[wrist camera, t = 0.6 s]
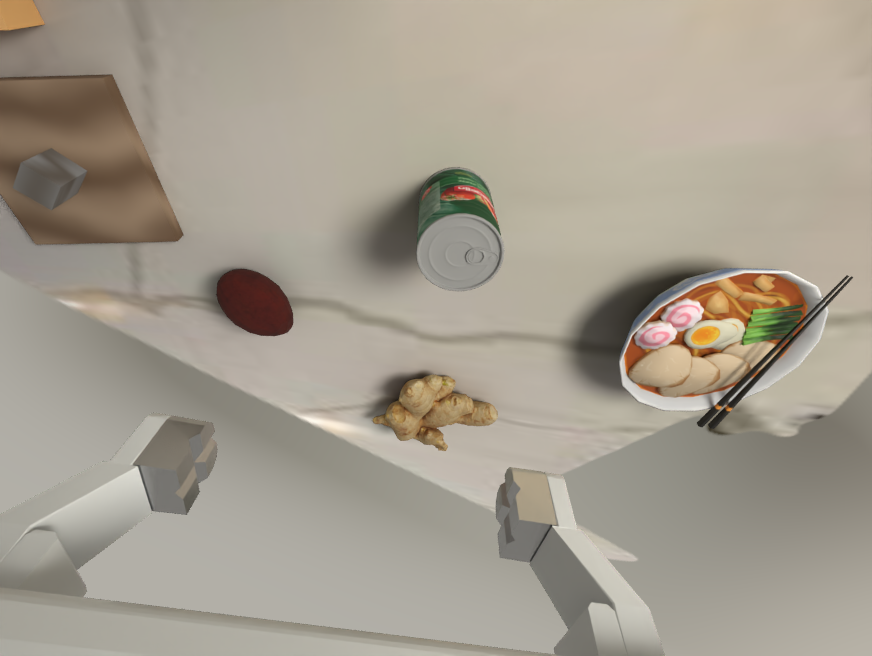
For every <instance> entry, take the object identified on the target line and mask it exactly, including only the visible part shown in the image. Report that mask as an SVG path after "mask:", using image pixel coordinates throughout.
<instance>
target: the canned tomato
mask: <svg viewBox="0 0 872 656" xmlns="http://www.w3.org/2000/svg"><path fill="white" fill-rule="evenodd" d="M416 259H417V263H418V266H419V268H420V270H421V272H422V274H423V275H424V276H425V277H426V279H428V280H429V281H430V282H431V283H432V284H434V285H436V286H438V287H440V288H443V289H446V290H451V291H467V290H472V289H475V288H478V287H480V286H482V285H484V284H486V283H487V282H488V281H489V280H491V279H492V278H493V277H494V276H495V275H496V273H497V272H498V270H499V269H500V267H501V265H502V262H503V259H504V244H503V241H502V238H501V233H500V229H499V225H498V222H497V218H496V214H495V210H494V206H493V202H492V199H491V193H490V190H489V187H488V186H487V184H486V182H485V181H484V180H483V179H482V178H481V177H480V176H479V175H478V174H476V173H475V172H473V171H471V170H468V169H465V168H460V167H453V168H447V169H444V170H441V171H439V172H437V173H436V174H434V175H433V176H431V177H430V178H429V179H428V180H427V181H426V183H425V184H424V186H423V188H422V190H421V193H420V197H419V214H418V233H417V249H416Z"/></svg>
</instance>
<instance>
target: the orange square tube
mask: <svg viewBox="0 0 872 656" xmlns="http://www.w3.org/2000/svg"><path fill="white" fill-rule="evenodd" d="M38 25H45V24H44V22H43V20H42V18H41V16H40V14H39V12H38V10H37V8H36V6H35V4H34V2H33V0H0V30H13V29H19V28H26V27H32V26H38Z"/></svg>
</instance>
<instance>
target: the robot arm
mask: <svg viewBox="0 0 872 656" xmlns="http://www.w3.org/2000/svg"><path fill="white" fill-rule="evenodd" d="M214 432H215V430H214V425H213V423H211V422H206V421H200V420H195V419H189V418H184V417H178V416H172V415H166V414H160V413H151V414H150V415H148V416H147V417H146V418H145V419H144V420H143V421H142V423H141V424H140V425H139V426H138V427H137V429H136V430H135V431H134V432H133V433H132V435H131V436H130V437H129V438H128V440H127V441H126V442H125V443H124V444H123V446H122V447H121V448H120V449H119V451H118V452H117V453H116V454H115V455H114V457H113V458H112V459H111V460H110V461H109V462H106V461H102V462H100V463H99V464H97V465H95V466H93V467H91V468H89V469H87V470H85V471H83V472H81V473H79V474H77V475H75V476H74V477H71V478H69V479H67V480H66V481H64V482H62V483H60V484H58V485H56V486H54V487H52V488H50V489H48V490H46V491H44V492H42V493H40V494H39V495H36V496H34V497H33V498H30V499H29V500H27V501H25V502H23V503H21V504H19V505H17V506H15V507H13V508H11V509H9V510H7V511H6V512H3V513H1V514H0V656H665V653H664V651H663V648H662V645H661V642H660V639H659V636H658V633H657V630H656V627H655V624H654V621H653V618H652V615H651V612H650V610H649V608H648V607H647V605H646V604H645V603H644V602H643V601H642V600H641V598H640V597H639V596H638V595H637V594H636V593H635V592H634V590H633V589H632V588H631V587H630V585H629V584H628V583H627V582H626V581H625V580H624V578H623V577H622V576H621V575H620V574H619V572H618V571H617V570H616V569H615V568H614V567H613V565H612V564H611V563H610V562H609V561H608V560H607V558H606V557H605V556H604V555H603V554H602V552H601V551H600V550H599V549H598V548H597V547H596V545H595V544H594V543H593V542H592V541H591V540H590V538H589V537H588V536H587V535H586V534H585V532H584V531H583V530H580V529H577V526H576V523H575V519H574V515H573V511H572V507H571V503H570V499H569V495H568V491H567V487H566V484H565V480H564V478H563V476H562V475H559V474H552V473H545V472H541V471H534V470H527V469H519V468H512V467H509V468H508V469H507V471H506V473H505V483H503V484H501V485H500V487H499V490H498V493H497V498H496V519H497V520H498V522H499V523H500V524H501V528H500V530H499V532H498V543H499V553H500V558H505V559H512V560H517V561H524V562H530V566H531V567H532V569H533V571H534V572H535V574H536V575H537V577H538V579H539V581H540V582H541V584H542V586H543V587H544V589H545V591H546V593H547V594H548V596H549V597H550V599H551V601H552V603H553V604H554V606H555V608H556V609H557V611H558V613H559V614H560V616H561V618H562V619H563V621H564V622H565V624H566V626H567V628H568V629H569V630H568V632H567V633H566V634H565V635H564V637H563V638H562V639H561V640H560V641H559V643H558V644H557V645H556V646H555V647H554V652H555V654H546V653H538V652H530V651H521V650H513V649H505V648H497V647H488V646H480V645H472V644H464V643H456V642H448V641H439V640H431V639H423V638H414V637H406V636H398V635H390V634H382V633H373V632H365V631H357V630H349V629H341V628H332V627H325V626H316V625H308V624H300V623H292V622H283V621H275V620H267V619H258V618H250V617H242V616H234V615H225V614H217V613H209V612H201V611H193V610H185V609H176V608H168V607H160V606H152V605H143V604H135V603H126V602H119V601H110V600H102V599H94V598H86V597H84V595H85V594H86V592H87V590H86V585H85V584H84V582H83V580H82V578H81V576H80V575H79V573H78V571H77V569H79V568H80V567H81V566H83V565H84V564H85V563H87V562H88V561H89V560H91V559H92V558H93V557H95V556H96V555H97V554H99V553H100V552H101V551H103V550H104V549H105V548H107V547H108V546H109V545H111V544H112V543H113V542H114V541H116V540H117V539H118V538H120V537H121V536H123V535H124V534H125V533H127V532H128V531H129V530H130V529H132V528H133V527H134V526H136V525H137V524H138V523H140V522H141V521H142V520H144V519H145V518H146V517H148V516H149V515H150V514H152V511H157V512H167V513H175V514H185V515H187V513H188V512H189V510H190V508H191V506H192V505H193V503H194V501H195V499H196V498H197V496H198V494H199V492H200V491H199V486H198V483H200V482H201V481H203V480H205V479H206V478H208V476H209V475H210V473H211V471H212V469H213V467H214V464H215V460H216V457H217V443H216V442H215V441H214V440H213V439H212V438H211V437H212V435H213V434H214Z"/></svg>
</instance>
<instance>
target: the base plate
mask: <svg viewBox="0 0 872 656" xmlns="http://www.w3.org/2000/svg"><path fill="white" fill-rule="evenodd" d="M0 194H1V196H2V197H3V199H4V200H5V201H6V203H7V204H8V206H9V207H10V209H11V210H12V211H13V213H14V214H15V216H16V217H17V219H18V220H19V221H20V223H21V224H22V226H23V227H24V228H25V230H26V231H27V233H28V234H29V236H30V237H31V238H32V240H33V241H34V243H35V244H79V243H123V242H168V241H178V240H179V239H180V238H181V237H182V236H183V233H182V230H181V228H180V226H179V224H178V221H177V219H176V217H175V215H174V212H173V210H172V208H171V206H170V203H169V201H168V199H167V197H166V194H165V192H164V190H163V188H162V185H161V183H160V181H159V179H158V176H157V174H156V172H155V170H154V167H153V165H152V163H151V161H150V158H149V156H148V154H147V152H146V150H145V147H144V145H143V143H142V141H141V138H140V136H139V134H138V132H137V129H136V127H135V125H134V123H133V120H132V118H131V116H130V114H129V111H128V109H127V107H126V105H125V102H124V100H123V98H122V96H121V93H120V91H119V89H118V87H117V84H116V82H115V80H114V78H113V75H80V76H44V77H8V78H0Z"/></svg>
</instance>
